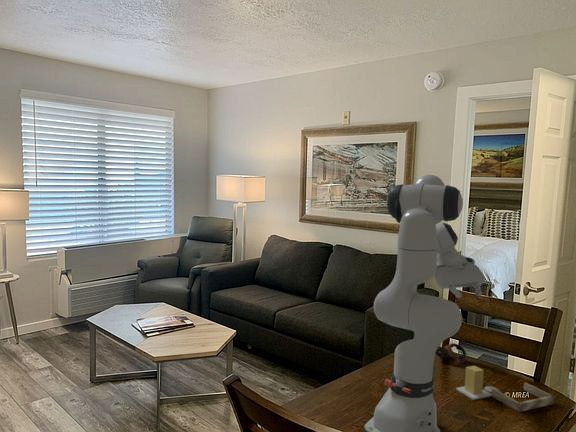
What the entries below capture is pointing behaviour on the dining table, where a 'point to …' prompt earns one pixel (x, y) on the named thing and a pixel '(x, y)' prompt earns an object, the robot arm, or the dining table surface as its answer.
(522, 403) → the cubby
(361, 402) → the dining table surface
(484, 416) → the dining table surface
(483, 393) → the pad
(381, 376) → the dining table surface
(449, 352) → the pottery mug
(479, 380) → the ochre block
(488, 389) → the painted circle
